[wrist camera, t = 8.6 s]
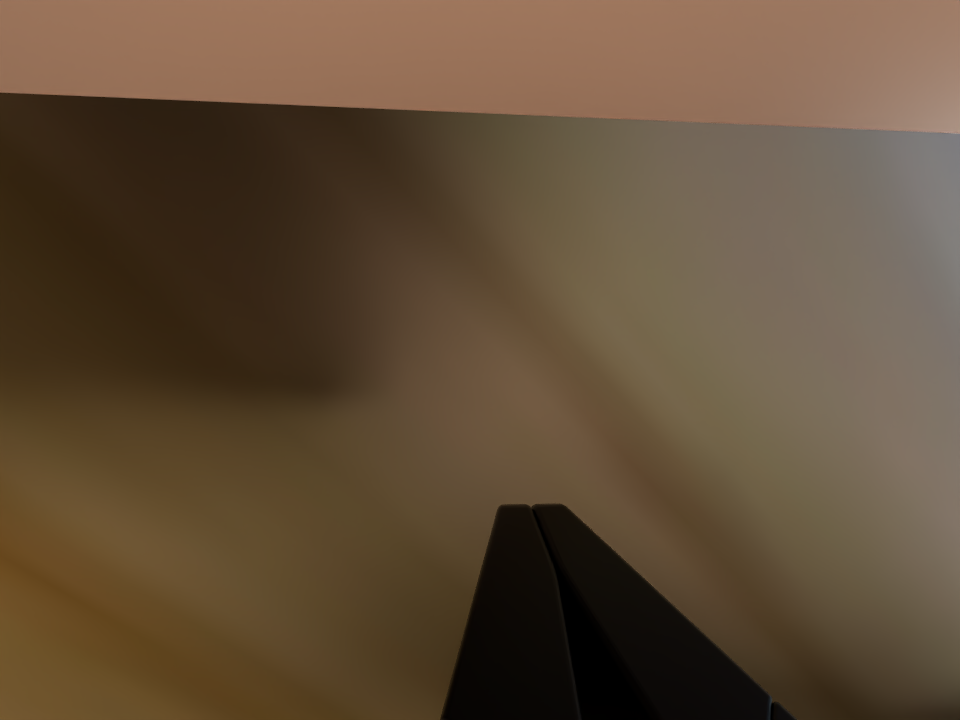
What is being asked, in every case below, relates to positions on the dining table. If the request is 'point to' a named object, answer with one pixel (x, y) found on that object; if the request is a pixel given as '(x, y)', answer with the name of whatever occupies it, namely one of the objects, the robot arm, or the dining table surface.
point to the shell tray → (509, 57)
